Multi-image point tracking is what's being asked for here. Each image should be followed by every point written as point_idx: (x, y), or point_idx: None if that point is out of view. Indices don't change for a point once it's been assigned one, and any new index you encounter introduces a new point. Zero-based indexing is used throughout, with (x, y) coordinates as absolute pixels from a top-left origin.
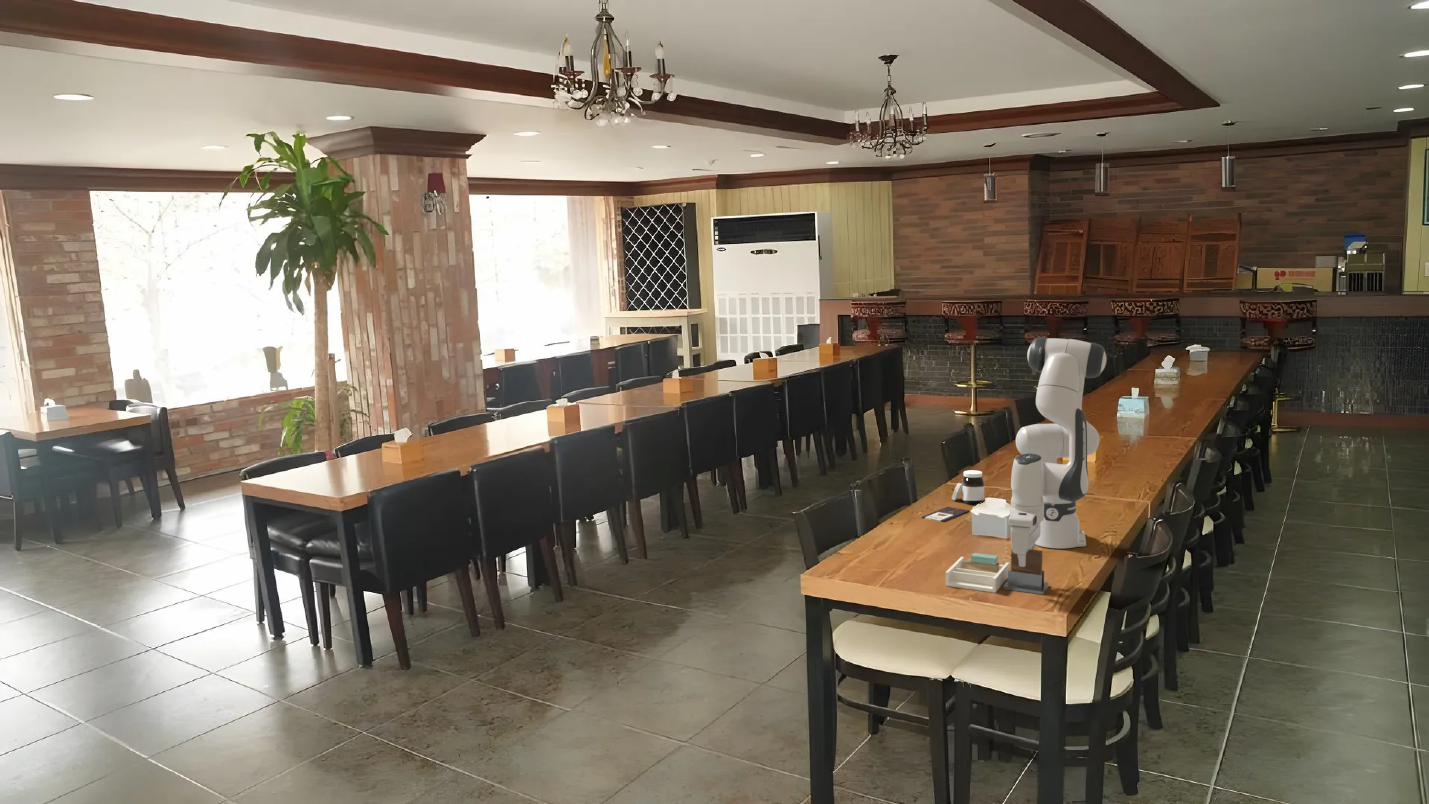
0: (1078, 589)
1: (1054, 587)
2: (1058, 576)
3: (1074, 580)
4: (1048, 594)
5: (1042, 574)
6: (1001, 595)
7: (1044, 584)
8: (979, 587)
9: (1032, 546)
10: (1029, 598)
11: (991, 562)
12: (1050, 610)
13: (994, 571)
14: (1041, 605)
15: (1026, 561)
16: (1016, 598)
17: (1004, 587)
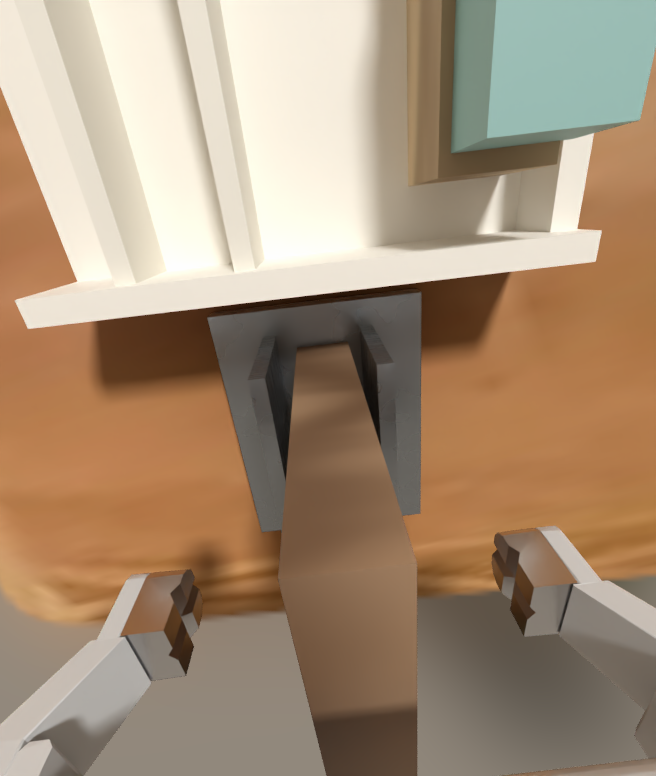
0: (422, 596)
1: None
2: (593, 491)
3: None
4: None
5: None
6: (87, 351)
7: None
8: (30, 161)
9: (620, 670)
10: (161, 489)
11: (463, 89)
12: (78, 595)
13: (420, 158)
14: (108, 555)
15: (192, 649)
16: (109, 439)
17: (213, 328)
